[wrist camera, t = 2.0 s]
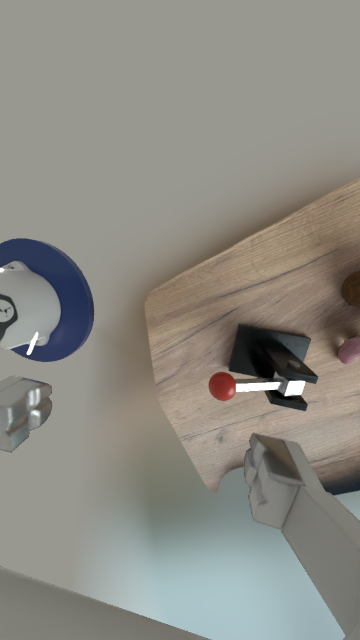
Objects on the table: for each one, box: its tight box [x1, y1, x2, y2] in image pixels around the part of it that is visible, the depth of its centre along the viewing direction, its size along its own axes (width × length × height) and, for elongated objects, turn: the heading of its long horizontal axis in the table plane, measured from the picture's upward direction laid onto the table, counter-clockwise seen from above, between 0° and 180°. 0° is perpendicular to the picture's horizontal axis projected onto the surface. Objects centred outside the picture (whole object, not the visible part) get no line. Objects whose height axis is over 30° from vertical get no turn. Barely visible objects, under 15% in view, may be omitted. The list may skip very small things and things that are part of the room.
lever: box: [209, 371, 305, 401], centre depth 24 cm, size 13×3×3 cm, turn 81°
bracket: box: [229, 324, 318, 411], centre depth 29 cm, size 12×9×12 cm
